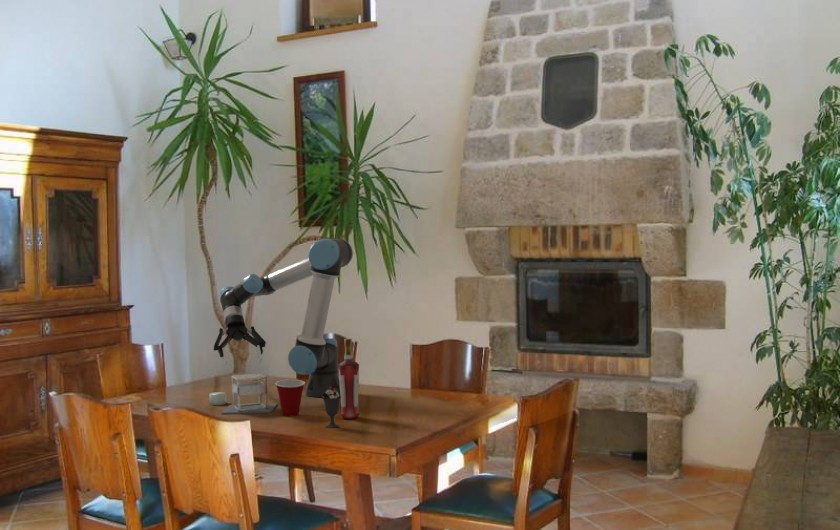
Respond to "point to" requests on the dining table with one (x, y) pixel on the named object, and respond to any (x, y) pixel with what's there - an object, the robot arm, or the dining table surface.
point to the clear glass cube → (249, 390)
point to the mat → (233, 411)
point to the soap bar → (217, 398)
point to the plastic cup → (290, 396)
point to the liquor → (349, 383)
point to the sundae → (331, 404)
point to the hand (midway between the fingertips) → (243, 361)
